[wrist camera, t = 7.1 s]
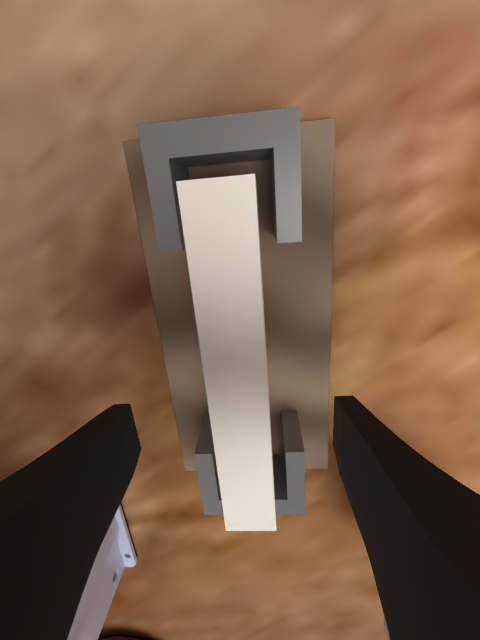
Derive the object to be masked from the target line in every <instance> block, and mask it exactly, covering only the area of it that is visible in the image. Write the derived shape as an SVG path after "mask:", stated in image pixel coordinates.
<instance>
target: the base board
mask: <svg viewBox="0 0 480 640" xmlns="http://www.w3.org/2000/svg"><path fill="white" fill-rule="evenodd" d="M335 121H336V118H331V119H322V120H313V121H303V122H301V197H302V242H290V243H277V241H276V239H275V236H274V228H273V205H272V182H271V159H267V160H257V161H247V162H237V163H227V164H217V165H207V166H197V167H188V170H189V178H190V180H194V179H205V178H215V177H226V176H236V175H246V174H255V177H256V183H257V199H258V216H259V233H260V250H261V267H262V283H263V300H264V317H265V334H266V351H267V368H268V385H269V402H270V419H271V436H272V454H283V436H282V413H281V411H297V412H298V418H299V424H300V429H301V435H302V440H303V446H304V452H305V469H328V436H329V391H330V346H331V301H332V256H333V211H334V166H335ZM123 146H124V151H125V156H126V161H127V167H128V172H129V177H130V182H131V187H132V193H133V198H134V203H135V208H136V214H137V219H138V224H139V229H140V235H141V240H142V245H143V250H144V256H145V261H146V266H147V271H148V277H149V282H150V287H151V292H152V297H153V303H154V308H155V313H156V318H157V324H158V329H159V334H160V339H161V345H162V350H163V355H164V360H165V366H166V371H167V376H168V381H169V386H170V392H171V397H172V402H173V407H174V413H175V418H176V423H177V428H178V434H179V439H180V444H181V449H182V455H183V460H184V465H185V470H186V471H197V468H196V462H195V456H194V453H195V449H196V445H197V441H198V437H199V434H200V430H201V426H202V422H203V418H204V414H206V413H209V408H208V402H207V395H206V388H205V381H204V374H203V367H202V360H201V353H200V346H199V339H198V332H197V325H196V318H195V311H194V304H193V297H192V290H191V283H190V276H189V269H188V262H187V255H186V249H184V250H183V251H174V252H161V253H159V249H158V243H157V237H156V232H155V226H154V220H153V214H152V209H151V203H150V197H149V191H148V186H147V180H146V174H145V168H144V163H143V157H142V151H141V145H140V140H130V141H123Z"/></svg>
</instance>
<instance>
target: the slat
mask: <svg viewBox="0 0 480 640" xmlns="http://www.w3.org/2000/svg"><path fill="white" fill-rule="evenodd" d="M176 185H177V192H178V199H179V206H180V213H181V220H182V227H183V234H184V241H185V248H186V255H187V262H188V269H189V276H190V283H191V290H192V297H193V304H194V311H195V318H196V325H197V332H198V339H199V346H200V353H201V360H202V367H203V374H204V381H205V388H206V395H207V402H208V408H209V415H210V422H211V429H212V436H213V443H214V450H215V457H216V464H217V471H218V478H219V485H220V492H221V499H222V506H223V513H224V520H225V527H226V531H276V514H275V495H274V475H273V455H272V436H271V419H270V402H269V385H268V368H267V351H266V334H265V317H264V300H263V283H262V267H261V250H260V233H259V216H258V199H257V183H256V177H255V174H246V175H236V176H226V177H215V178H205V179H194V180H184V181H176Z"/></svg>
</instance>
